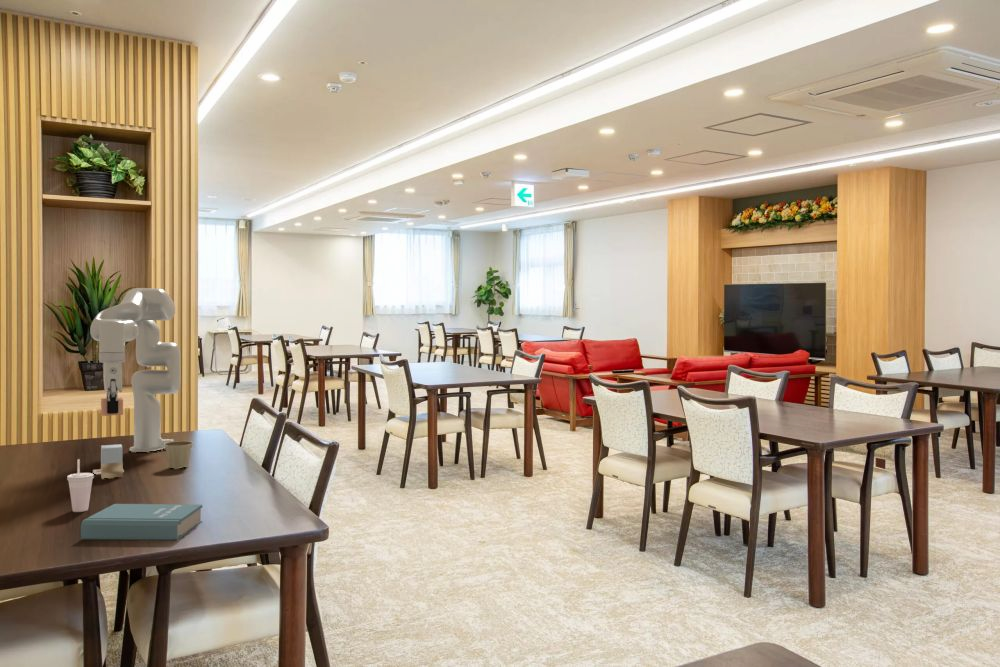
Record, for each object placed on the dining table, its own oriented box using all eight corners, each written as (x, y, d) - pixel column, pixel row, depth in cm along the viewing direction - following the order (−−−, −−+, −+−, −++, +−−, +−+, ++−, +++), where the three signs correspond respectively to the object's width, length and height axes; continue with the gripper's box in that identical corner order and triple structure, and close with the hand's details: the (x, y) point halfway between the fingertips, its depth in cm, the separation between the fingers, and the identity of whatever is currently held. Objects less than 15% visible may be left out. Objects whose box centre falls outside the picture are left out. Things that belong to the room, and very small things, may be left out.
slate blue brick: (121, 459, 246) (121, 444, 246) (122, 462, 241) (122, 447, 241) (100, 460, 243) (101, 445, 243) (101, 463, 238) (101, 448, 238)
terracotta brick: (121, 412, 246) (121, 397, 246) (123, 414, 241) (123, 399, 241) (101, 413, 243) (101, 398, 243) (102, 415, 238) (102, 400, 238)
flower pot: (168, 471, 250) (168, 446, 250) (160, 467, 257) (160, 442, 257) (196, 468, 256) (196, 443, 256) (187, 463, 264) (187, 440, 263)
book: (202, 523, 191) (202, 504, 191) (176, 542, 175) (176, 522, 175) (114, 522, 191) (114, 503, 191) (80, 542, 175) (80, 521, 175)
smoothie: (76, 506, 204) (76, 456, 204) (98, 507, 204) (98, 457, 203) (61, 513, 198) (61, 461, 197) (84, 513, 197) (85, 461, 197)
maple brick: (121, 473, 246) (121, 459, 246) (122, 477, 241) (122, 462, 241) (100, 475, 243) (100, 460, 243) (101, 479, 238) (101, 463, 238)
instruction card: (122, 468, 254) (122, 466, 254) (123, 472, 249) (124, 470, 248) (92, 470, 250) (92, 469, 250) (93, 474, 244) (93, 473, 244)
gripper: (127, 359, 236) (126, 414, 236) (122, 356, 251) (122, 408, 251) (100, 359, 232) (100, 416, 232) (97, 356, 247) (97, 409, 247)
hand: (111, 411), depth 242 cm, fingers closed on terracotta brick, 6 cm apart
